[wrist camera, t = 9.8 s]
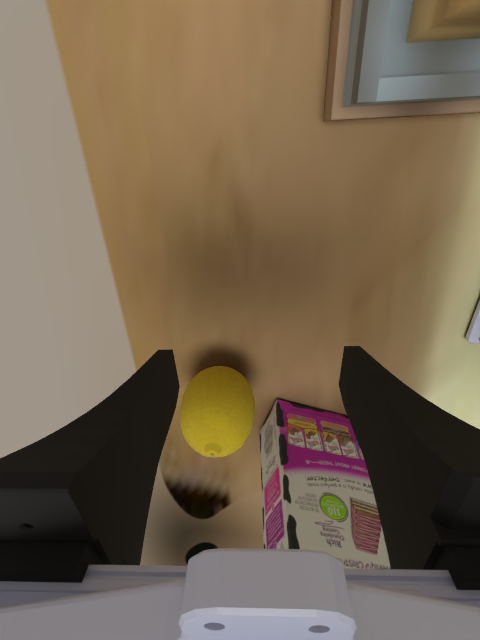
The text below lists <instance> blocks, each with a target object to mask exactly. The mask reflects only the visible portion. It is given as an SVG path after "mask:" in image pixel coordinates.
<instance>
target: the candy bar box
mask: <svg viewBox="0 0 480 640" xmlns="http://www.w3.org/2000/svg"><path fill="white" fill-rule="evenodd" d="M260 453H261V480H262V505H263V529H264V549H308V550H315V551H322V552H326V553H328V554H330V555H332V556H334V557H335V558H337V559H338V560H340V561H341V562H342V565H343V568H344V569H391V567H390V562H389V558H388V553H387V548H386V543H385V539H384V535H383V530H382V526H381V522H380V517H379V513H378V509H377V505H376V501H375V497H374V493H373V489H372V485H371V482H370V478H369V474H368V471H367V467H366V463H365V460H364V458H363V455H362V452H361V449H360V447H359V444H358V441H357V439H356V436H355V434H354V431H353V429H352V426H351V423H350V421H349V418H348V416H344V415H340V414H336V413H331V412H327V411H323V410H319V409H315V408H310V407H306V406H302V405H298V404H294V403H290V402H286V401H282V400H278V399H277V400H276V401H275V403H274V405H273V407H272V409H271V412H270V413H269V415H268V417H267V419H266V421H265V422H264V424H263V426H262V428H261V430H260Z"/></svg>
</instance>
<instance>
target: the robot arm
mask: <svg viewBox="0 0 480 640" xmlns="http://www.w3.org/2000/svg"><path fill="white" fill-rule="evenodd" d="M479 337H480V300H479V303H478V306H477V308H476V311H475V313H474V316H473V319H472V321H471V324H470V327H469V329H468V332H467V335H466V340H467V341H468V342H469V343H472V344H480V338H479ZM339 387H340V392H341V396H342V400H343V404H344V407H345V410H346V413H347V415H348V418H349V421H350V423H351V426H352V429H353V431H354V434H355V436H356V439H357V441H358V444H359V447H360V449H361V452H362V455H363V458H364V460H365V463H366V467H367V471H368V474H369V478H370V482H371V485H372V489H373V493H374V497H375V501H376V505H377V509H378V513H379V517H380V522H381V526H382V530H383V535H384V539H385V543H386V548H387V553H388V558H389V562H390V567H391V569H344V568H343V565H342V562H341V561H340V560H338V559H337V558H335V557H334V556H332V555H330V554H328V553H326V552H322V551H315V550H308V549H238V548H235V549H234V548H220V549H211V550H204V551H202V552H200V553H199V554H197V555H195V556H193V557H192V558H191V559H190V560H189V562H188V566H151V565H149V566H148V565H147V566H146V565H145V566H144V565H140V561H141V554H142V547H143V541H144V535H145V528H146V523H147V517H148V511H149V506H150V501H151V496H152V491H153V486H154V481H155V476H156V472H157V467H158V463H159V459H160V456H161V452H162V449H163V446H164V443H165V440H166V437H167V434H168V430H169V427H170V424H171V421H172V418H173V415H174V411H175V408H176V403H177V398H178V392H179V381H178V375H177V370H176V365H175V360H174V354H173V350H158V351H157V352H156V353H155V354H154V355H153V356H152V357H151V358H150V359H149V360H148V361H147V362H146V363H145V364H144V365H143V366H142V367H141V368H140V369H139V370H138V371H137V372H136V373H135V374H133V375H132V376H131V378H129V379H128V380H127V381H126V382H125V383H124V384H122V385H121V386H120V387H119V388H118V389H117V390H116V391H115V392H113V393H112V394H111V395H110V396H109V397H107V398H106V399H105V400H103V401H102V402H101V403H99V404H98V405H97V406H95V407H94V408H92V409H91V410H90V411H88V412H87V413H85V414H84V415H82V416H80V417H79V418H77V419H76V420H74V421H72V422H71V423H69V424H68V425H66V426H64V427H63V428H61V429H59V430H57V431H56V432H54V433H52V434H50V435H48V436H46V437H45V438H43V439H41V440H39V441H37V442H35V443H33V444H31V445H29V446H27V447H24V448H22V449H20V450H18V451H16V452H13V453H11V454H9V455H7V456H5V457H3V458H0V640H480V429H478V428H476V427H474V426H472V425H470V424H468V423H466V422H464V421H462V420H460V419H458V418H457V417H455V416H453V415H451V414H449V413H448V412H446V411H444V410H442V409H441V408H439V407H438V406H436V405H434V404H433V403H431V402H430V401H428V400H427V399H425V398H424V397H422V396H421V395H419V394H418V393H416V392H415V391H414V390H412V389H411V388H409V387H408V386H407V385H405V384H404V383H403V382H401V381H400V380H399V379H398V378H396V377H395V376H394V375H393V374H391V373H390V372H389V371H388V370H387V369H385V368H384V367H383V366H382V365H381V364H380V363H378V362H377V361H376V360H375V359H374V358H373V357H372V356H370V355H369V354H368V353H367V352H366V351H365V350H364V349H362V348H361V347H360V346H344V352H343V359H342V366H341V373H340V379H339Z"/></svg>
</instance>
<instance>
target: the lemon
mask: <svg viewBox="0 0 480 640" xmlns="http://www.w3.org/2000/svg"><path fill="white" fill-rule="evenodd" d="M254 415H255V401H254V396H253V391H252V389H251V387H250V385H249V383H248V381H247V380H246V378H245V377H244V376H243V375H242V374H241V373H239V372H238V371H236V370H234V369H232V368H229V367H226V366H213V367H209V368H206V369H204V370H202V371H201V372H199V373H198V374H197V375H196V376H195V377H194V378H193V379H192V380H191V381H190V382H189V384H188V386H187V388H186V390H185V392H184V394H183V397H182V402H181V408H180V423H181V428H182V433H183V435H184V437H185V439H186V441H187V443H188V444H189V445H190V446H191V447H192V448H193V449H194V450H195V451H197V452H198V453H200V454H202V455H205V456H208V457H223V456H227V455H229V454H231V453H233V452H235V451H236V450H238V449H239V448H240V447H241V446H242V445H243V444H244V443H245V441H246V439H247V438H248V436H249V434H250V432H251V429H252V426H253V421H254Z"/></svg>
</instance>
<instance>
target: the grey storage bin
mask: <svg viewBox="0 0 480 640" xmlns="http://www.w3.org/2000/svg"><path fill="white" fill-rule="evenodd" d="M412 5H413V0H332V13H331V26H330V40H329V53H328V66H327V80H326V93H325V106H324V120H323V121H337V120H356V119H374V118H393V117H411V116H430V115H448V114H466V113H480V38H477V39H461V40H445V41H429V42H412V43H406V40H407V34H408V28H409V23H410V17H411V11H412Z"/></svg>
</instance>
